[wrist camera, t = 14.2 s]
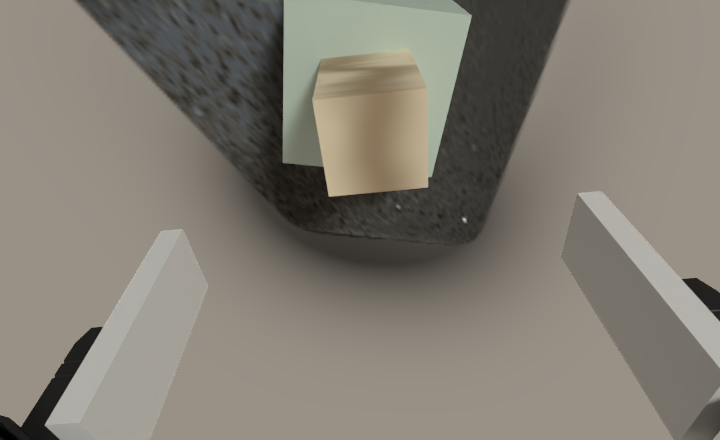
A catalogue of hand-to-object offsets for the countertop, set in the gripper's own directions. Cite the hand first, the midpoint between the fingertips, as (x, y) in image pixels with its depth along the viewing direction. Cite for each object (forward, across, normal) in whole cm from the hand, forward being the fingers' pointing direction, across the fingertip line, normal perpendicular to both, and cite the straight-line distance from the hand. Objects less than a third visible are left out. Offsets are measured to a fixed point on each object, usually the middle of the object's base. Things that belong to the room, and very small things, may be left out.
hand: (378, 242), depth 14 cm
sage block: (+25, 0, -2) cm, 25 cm away
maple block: (+18, 0, -2) cm, 18 cm away
